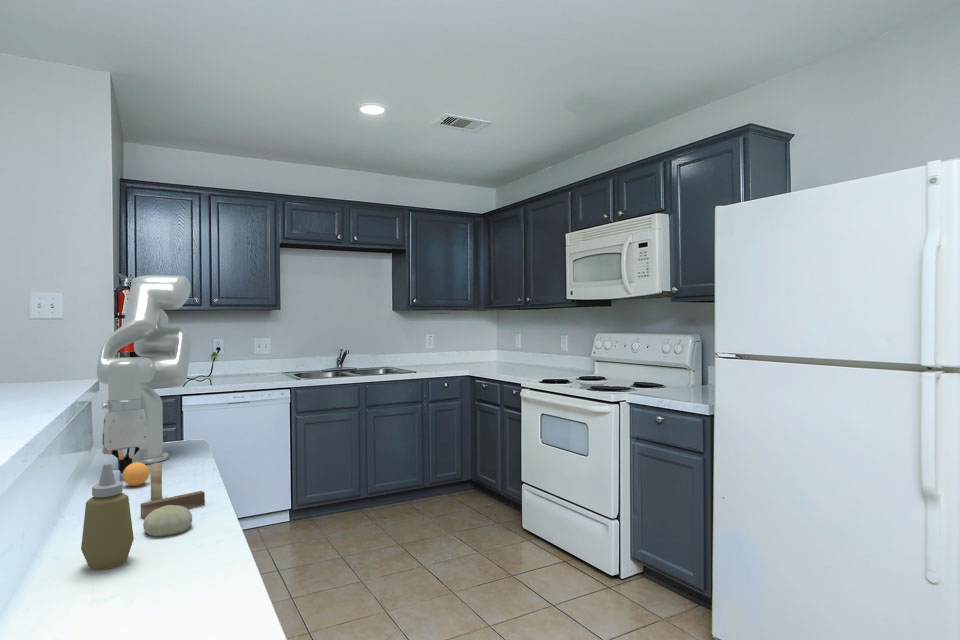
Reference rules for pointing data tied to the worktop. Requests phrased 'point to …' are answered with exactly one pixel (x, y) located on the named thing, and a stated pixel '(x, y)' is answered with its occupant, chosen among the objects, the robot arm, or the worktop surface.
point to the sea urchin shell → (167, 520)
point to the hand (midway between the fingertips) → (125, 472)
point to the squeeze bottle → (107, 524)
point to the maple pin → (156, 481)
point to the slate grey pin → (116, 475)
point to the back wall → (174, 502)
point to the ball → (136, 474)
